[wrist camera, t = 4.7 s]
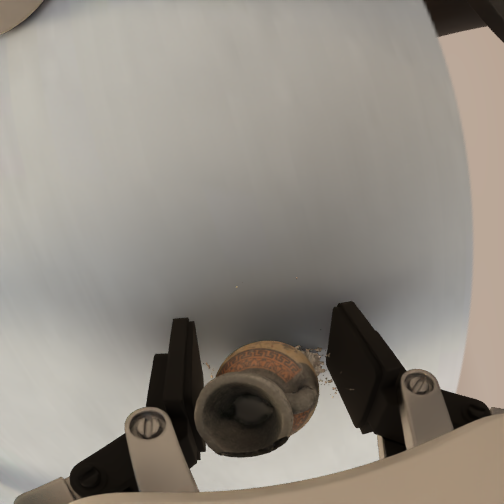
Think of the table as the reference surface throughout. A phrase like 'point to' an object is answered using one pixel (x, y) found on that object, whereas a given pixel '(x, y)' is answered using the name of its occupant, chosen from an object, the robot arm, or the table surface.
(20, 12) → the beverage can
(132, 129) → the table surface
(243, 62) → the table surface
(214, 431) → the vase
